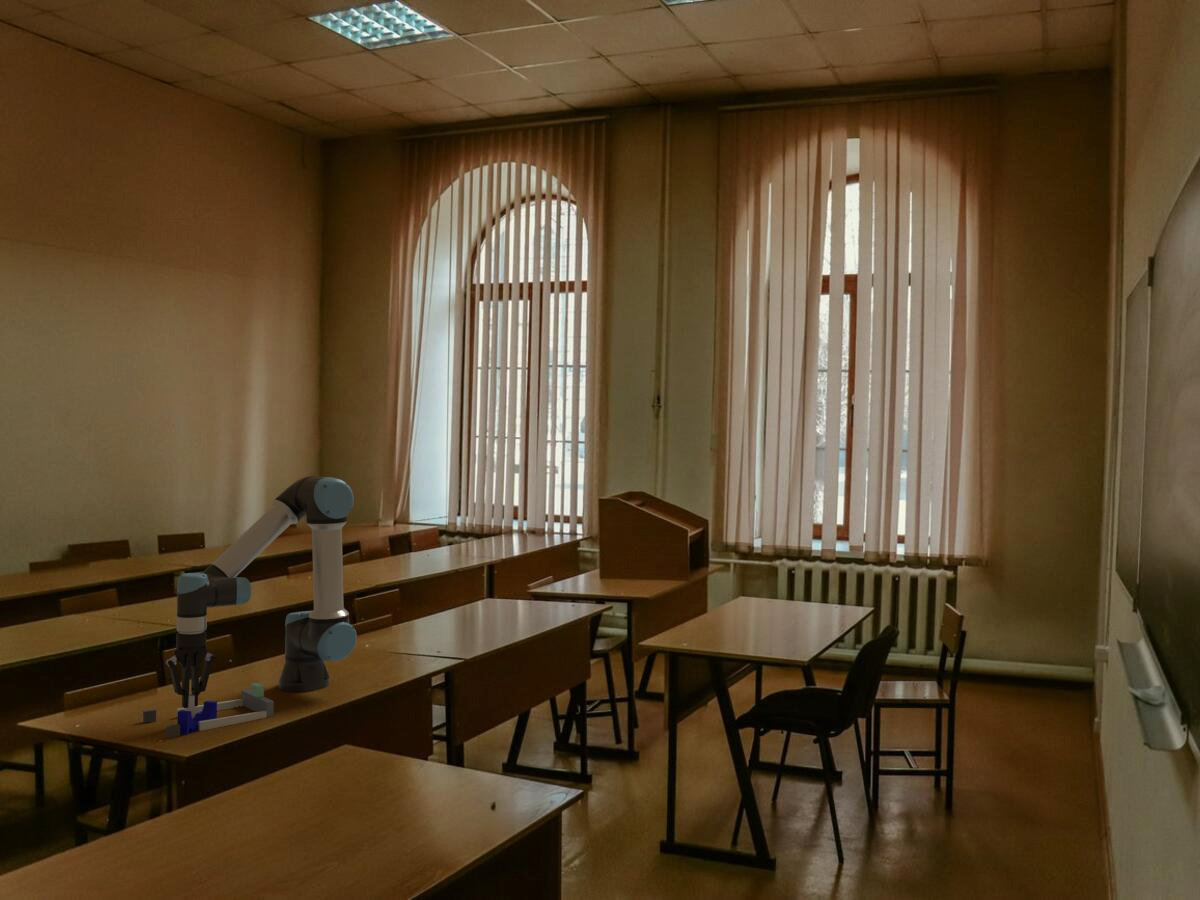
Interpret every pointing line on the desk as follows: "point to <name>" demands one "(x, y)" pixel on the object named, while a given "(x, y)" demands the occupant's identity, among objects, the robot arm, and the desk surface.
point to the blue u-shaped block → (196, 717)
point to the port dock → (249, 699)
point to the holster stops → (171, 730)
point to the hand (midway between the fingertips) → (189, 719)
